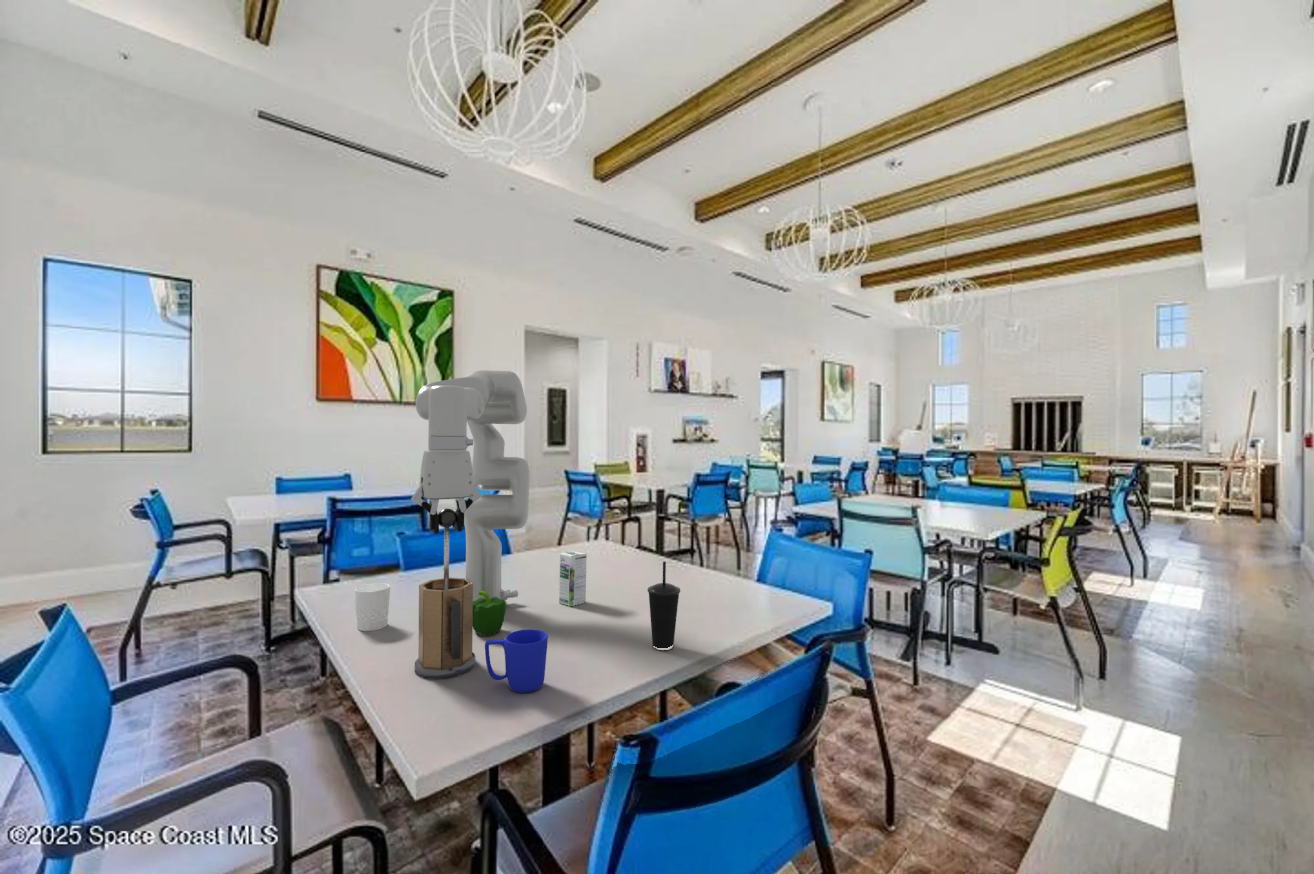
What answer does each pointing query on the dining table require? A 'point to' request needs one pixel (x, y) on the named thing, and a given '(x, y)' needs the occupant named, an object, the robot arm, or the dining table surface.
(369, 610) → the white cup
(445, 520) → the plunger
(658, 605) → the drinking cup
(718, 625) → the dining table surface
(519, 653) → the mug
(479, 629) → the bell pepper
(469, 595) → the tan octagonal hollow container
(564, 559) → the syrup box
